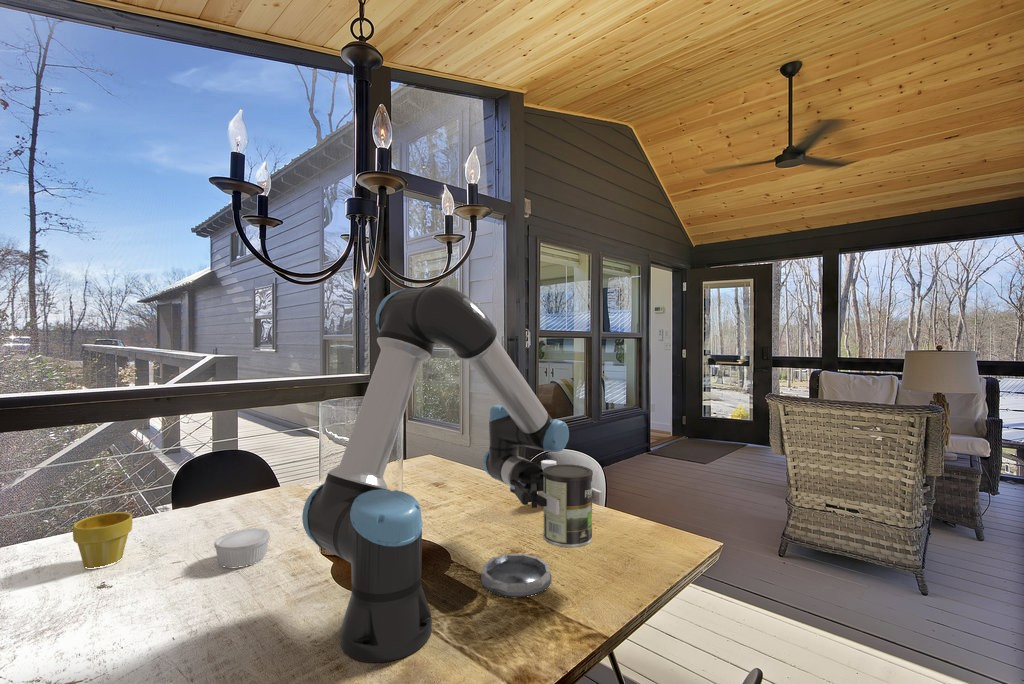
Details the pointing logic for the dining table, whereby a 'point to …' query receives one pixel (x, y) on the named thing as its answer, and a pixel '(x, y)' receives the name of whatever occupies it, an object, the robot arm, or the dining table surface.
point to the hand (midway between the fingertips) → (580, 503)
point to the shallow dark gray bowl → (516, 575)
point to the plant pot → (102, 538)
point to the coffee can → (569, 505)
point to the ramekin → (242, 547)
